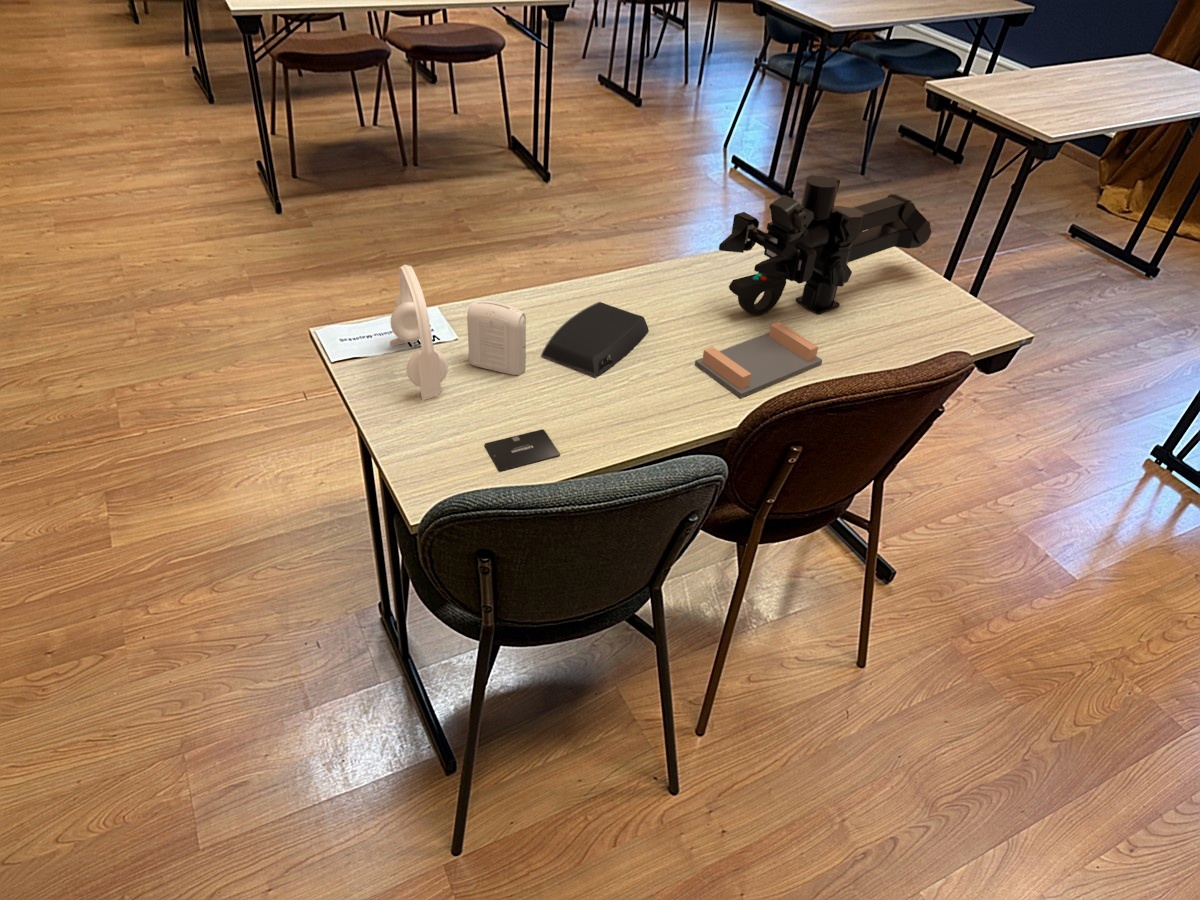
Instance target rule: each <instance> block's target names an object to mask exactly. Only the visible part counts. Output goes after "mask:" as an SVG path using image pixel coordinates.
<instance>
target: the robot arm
mask: <svg viewBox="0 0 1200 900" xmlns="http://www.w3.org/2000/svg"><path fill="white" fill-rule="evenodd" d="M840 184H841V179H838V178H837V177H834V176H829V177H828V176H821V175H812V174H811V175H808V176H807V177H806V178H805V182H804V187H803V190H802V191H803V192H802V197H801V201H800V202H799V201H798V200H796V199H794V198H792V197H790V196H788V195H785V194H782V195H781V196H780V197H778V198H777V199H776V200H774V201H772V202H771V203H770V204H769V207H768V208H769V210H770V218H771V221H770V222H767V224H766V230H767V231H768V232H767V231H764V230H762V229H761V228H759V226H760V221H759V220H758V218H756V217H755V216H753V215H751V214H749V213H747V212H745V211H742V212H739V213H736V214H734V216H733V221H732V222H733V223H732V228H731V233H730V234H729V235H728V236H727V237H726V238H725V239H724V240H723V241H721V242H720V243H719V245H718V250H719V251H722V252H730V253H742V254H743V253H744V252H746V251H747V252H748V251H751V250H752V249H753V248H754V246H755V245H756V244H758V245H759V246H761V247H763V249H764V252H763V255H764V256H765V257H768V259H764V260H762V261H760V262H758V263H756V264H755V265H754V268H753V269H754V271H755V272H757V273H759V272H760V273H764V274H769V275H773V276H777V277H780V278H784V279H786V281H787V280H788V281H790V282H796V283H797V284H799V285H800V284H802V283H805V284H804V286H803V291H802V293H801V294H802V295H801V296H798V297H796V298H795V302H796V303H799V304H800V305H802V306H803V307H805V308H806V309H808V310H810V311H812V312H813V313H816V314H817V315H820V314H822V313H825V312H828V311H830V310H833V309H836V308H839V307H840V305H841V304H840V303H839V302H838V301H836V300H835V299H836V295H837V291H838V288H839V287H840V288H841V287H844V286H845V283H848V282H849V279H850V278H851V276H852V273H853V271H852V270H851V268H850V267H849V265H848V264H849V263H851V262H854V261H856V260H860V259H863V258H865V257H869V256H871V255H874V254H877V253H880V252H882V251H886V250H889V249H891V248H895V247H896V248H901V249H902V248H903V249H917V248H919V247H921V246H923V245H924V244H926V243H927V241H929V239H930V237H931V234H932V229H931V222H930V221H929V220H928V219H927V218H926V217H925V216H924V215H923V214H922V213H921V212H920V211H919V210H918V209H917V207H916V206H915V203H913V201H912V200H911V199H908V198H907V197H904V196H901V195H899V194H898V193H895V194H894V193H891V194H889V195H888V196H887V197H884V198H880V199H877V200H874V201H870V202H867V203H864V204H861V205H858V206H854V207H852V206H851V207H848V206H842V205H835V204H836V198H837V195H838V190H839V187H840Z"/></svg>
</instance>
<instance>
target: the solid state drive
mask: <svg viewBox="0 0 1200 900" xmlns="http://www.w3.org/2000/svg"><path fill="white" fill-rule="evenodd" d="M484 448H485V449H486V452H487V453H488V454H489V457H490V459H491V460H492V462H493V465H494V466H495V467H496V469H497V471H498V472H501V473H502V472H506V471H509V470H514V469H517V468H521V467H524V466H528V465H532V464H536V463H541V462H544V461H548V460H552V459H556V458H560V457H561V453H560V452H559V450H558V448H557V447H556V446H555V444H554V443H553V441H552V439H551V438H550V436H549V435H548V433H547V432H546V430H544V429H537V430H534V431H530V432H525V433H521V434H517V435H513V436H510V437H509V436H508V437H506V438H501V439H498V440H494V441H489V442H485V443H484Z"/></svg>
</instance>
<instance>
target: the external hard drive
mask: <svg viewBox="0 0 1200 900" xmlns="http://www.w3.org/2000/svg"><path fill="white" fill-rule="evenodd" d="M649 331H650V329H649V327H648V324H647V321H646V319H645V317H644V316H643V315H640V314H635V313H633V312H631V311H627V310H624V309H621V308H619V307H615V306H613V305H610V304H608V303H607V304H606V303H605V302H601V301H597V302H595V303H593V304H591V305H589V306H588V307H586V308H583V309H581V311H579V312H577V313H576V314H574V315H573V316H572V317H570V318H569V319H567V320H566V321H565V322H564V323H563V324H562V325H561V326H559V328H558V329H557V330H556V331H555V332H554V334H552V336H550V338H549V340H548V341H547V343H546V344H545V346H544V348H543V350H542V352H541V355H540V358H542V359H545V360H547V361H549V362H553V363H555V364H558V365H560V366H563V367H566V368H568V369H571V370H573V371H576V372H579V373H581V374H583V375H586V376H589V377H591V378H594V379H596V378H597V377H600V376H602V375H603V374H605V373H606V372H608V371H609V370H610V369H612V368H613V367H614V366H615V365H617V364H618V363H619V362H620V361H622V360H623V359H624V358H625V357H626V356H627V355H629V353H631V352H632V351H633V350H634V349H635V348H636V347H637V346H638V345H639V344H640V343H641V342H642V341H643V339H644V338H645V337H646V336H647V334H649Z"/></svg>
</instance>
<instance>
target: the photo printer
mask: <svg viewBox="0 0 1200 900" xmlns="http://www.w3.org/2000/svg"><path fill="white" fill-rule="evenodd" d="M526 319H527V317H526V314H525V312H524V311H522V310H520V309H519V308H516V307H514V306H511V305H509V304H506V303H503V302H499V301H494V300H493V301H492V300H476V301H472V302H471V303H470V304H469V305H468V309H467V313H466V321H467V325H466V326H467V341H468V342H467V344H468V345H467V347H468V363H469V364H470V365H472V366H474V367H477V368H482V369H487V370H491V371H495V372H499V373H503V374H507V375H513V376H520V375H522V374H523V373H525V371H526V362H527V361H526V359H527V358H526V357H527V356H526V355H527V344H526V343H527V342H526V341H527V334H526V333H527V331H526V330H527V326H526V325H527V320H526Z"/></svg>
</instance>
